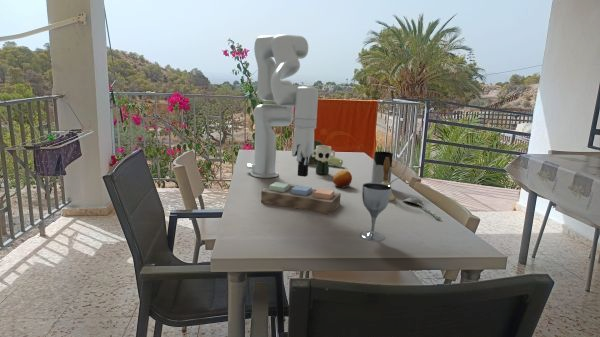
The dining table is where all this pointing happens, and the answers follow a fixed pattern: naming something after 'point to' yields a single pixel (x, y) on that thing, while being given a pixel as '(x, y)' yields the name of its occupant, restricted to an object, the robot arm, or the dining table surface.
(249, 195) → the dining table surface
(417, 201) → the soupspoon
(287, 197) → the key panel
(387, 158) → the hand bell
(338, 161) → the green broccoli
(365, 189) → the wine glass
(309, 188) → the slate key
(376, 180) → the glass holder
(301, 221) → the dining table surface
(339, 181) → the fruit
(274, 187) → the sage key
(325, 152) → the character mug
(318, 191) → the terracotta key
